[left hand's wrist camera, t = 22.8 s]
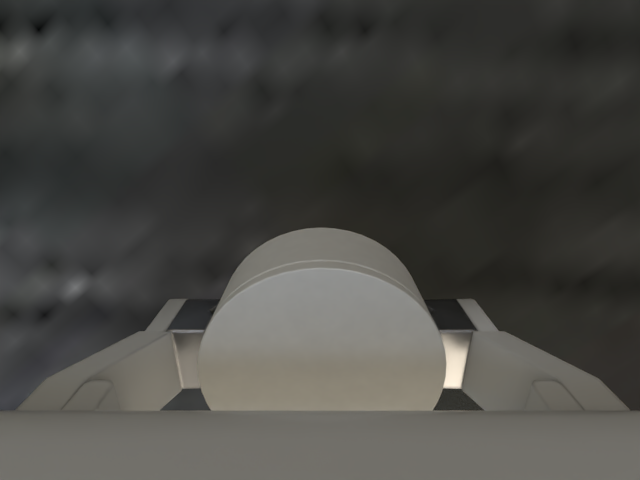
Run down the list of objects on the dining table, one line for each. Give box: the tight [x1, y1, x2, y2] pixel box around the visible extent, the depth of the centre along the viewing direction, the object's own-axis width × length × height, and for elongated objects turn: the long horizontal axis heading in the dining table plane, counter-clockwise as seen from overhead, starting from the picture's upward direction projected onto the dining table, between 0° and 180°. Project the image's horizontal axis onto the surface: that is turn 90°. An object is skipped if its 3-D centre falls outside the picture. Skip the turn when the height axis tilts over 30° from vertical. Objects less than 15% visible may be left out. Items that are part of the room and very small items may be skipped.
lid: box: [197, 228, 446, 411], centre depth 9 cm, size 6×6×2 cm
